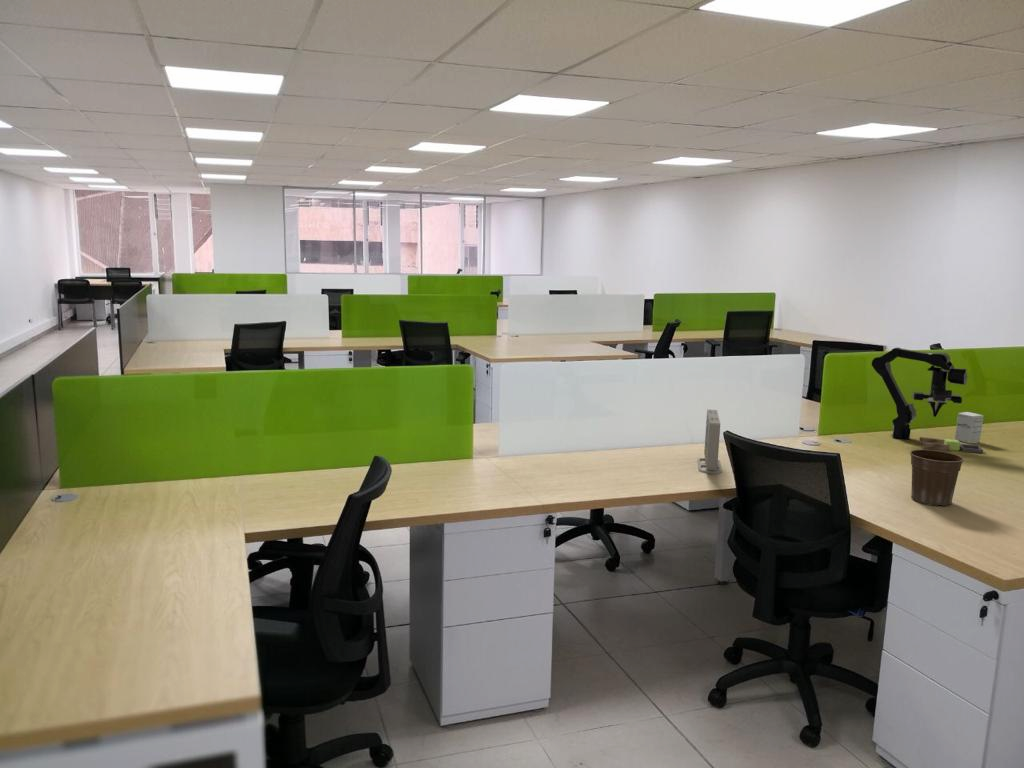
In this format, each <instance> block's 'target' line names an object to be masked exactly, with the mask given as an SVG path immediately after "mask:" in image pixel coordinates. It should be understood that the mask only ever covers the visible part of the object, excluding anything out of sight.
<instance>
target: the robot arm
mask: <svg viewBox="0 0 1024 768" xmlns="http://www.w3.org/2000/svg"><path fill="white" fill-rule="evenodd" d="M897 358H902V359H906V360H914V361H920V362H924V363H927V364H929V365H931V366H930V367H929V368H926V369H927V371H930V372H932V374H931V382H930V390H929V391H930V392H929V394H926V393H924V392H922V391H913V392H912V395H911V396H912V399H913V400H915V401H923V400H924V399H926V400H925V401H926V402H927V403H928V404H929V405H930V408H931V412H932V416H933V417H935V418H936V417H937V415H938V413H939V411H940V409H941V408H942V407H943V406H944V405H946V404H948V403H947V401H951V402H952V403H953V404H962V403H963V397H962V396H961V395H960V394H952V393H953V391H952V390H950V389H949V390H948V389H946V388H947V387H946V386H947V381H948V382H949V383H950V384H954V385H963V386H965V385H966V384H967V382H968V372H967V368H957V367H956V368H955V366H954V365H953V363H952V362H951V356H950V355H949V353H947V352H923V351H917V350H913V349H906V348H902V347H901V348H900V347H894V348H891V350H889V351H887V352H886V353H884V354H883V355H880V356H878V357H877V356H876V357H874V358H873V359H872V361H871V366H872V368H873V369H874V371H875V372H876V373H877V374H878V375H879V376H880V377H881V378H882V380H883V383H884V384H885V386H886V389H887V390H888V393H889V394H890V396H891V399H892V400H893V402H894V404H895V408H896V413H897V414H896V415H897V416H896V417H895V418H894V419H892V425H893V426H892V433H891V436H892V439H897V440H910V437H911V429H912V428H911V427H910V424H911V422H912V421H914V420H915V419H916V417H917V410H916V408H915V405H914V403H913V402H912V403H909V402H907V400H906V399H905V396H904V394H903V393H902V391H901V389H900V387H899V385H898V383H897V381H896V379H895V377H894V375H893V373H892V366H891V362H893V361H894V360H895V359H897Z"/></svg>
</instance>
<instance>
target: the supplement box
mask: <svg viewBox="0 0 1024 768" xmlns="http://www.w3.org/2000/svg"><path fill="white" fill-rule="evenodd" d="M983 420H984V414H978V413H975V412H970V411H965V412H964V411H963V412H958V414H957V421H956V429H955V435H954V440H958V441H959V442H963V443H967V444H968V445H971V444H978V443H980V442H981V436H982V429H983V422H984V421H983Z"/></svg>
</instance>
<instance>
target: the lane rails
mask: <svg viewBox="0 0 1024 768" xmlns="http://www.w3.org/2000/svg"><path fill="white" fill-rule="evenodd" d="M945 439H946V438H933V437H922V436H921V437H919V441H918V443H919V444H922V449H925V450H936V451H943V452H950V450H949V448H950V445H949V444H944V440H945Z"/></svg>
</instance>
